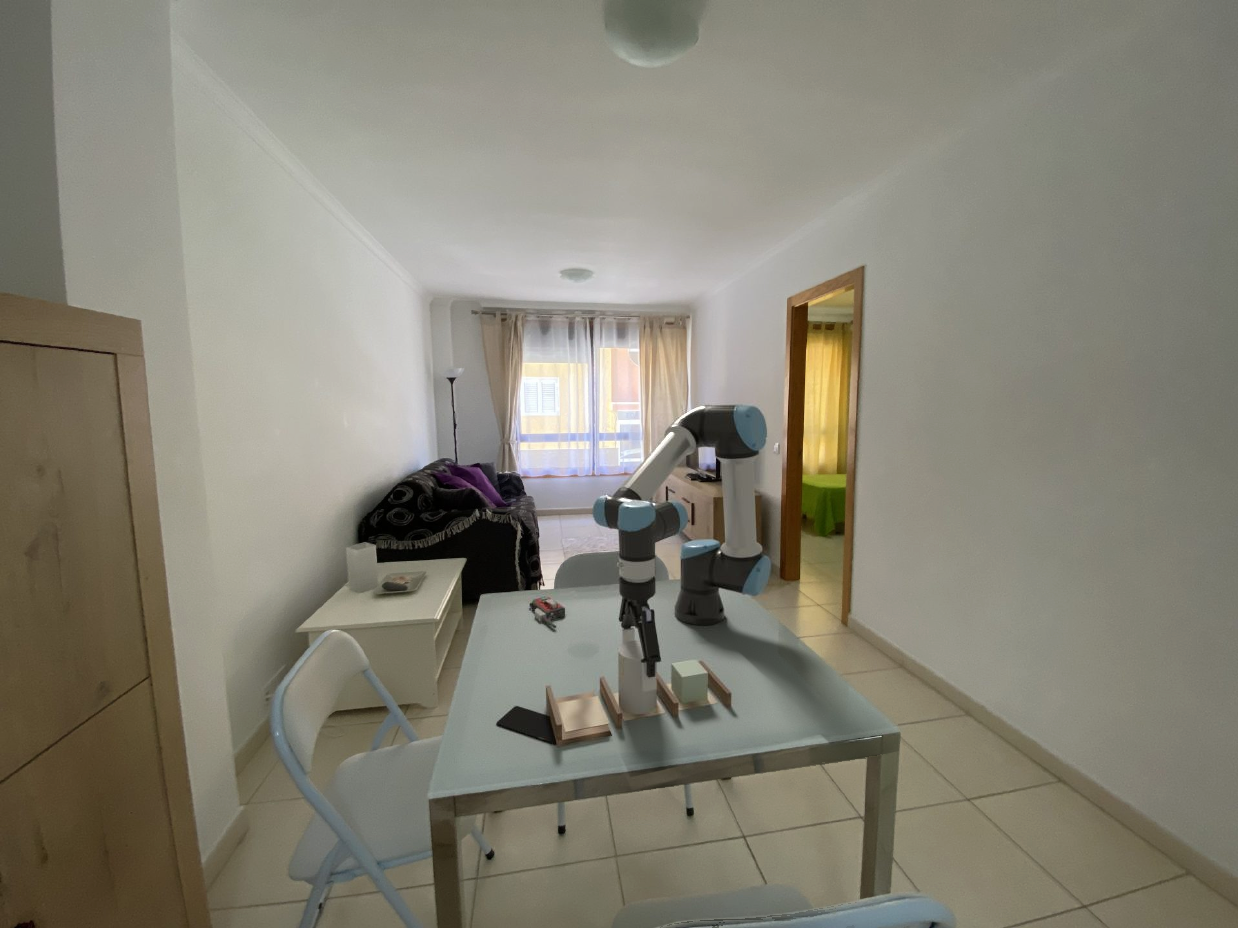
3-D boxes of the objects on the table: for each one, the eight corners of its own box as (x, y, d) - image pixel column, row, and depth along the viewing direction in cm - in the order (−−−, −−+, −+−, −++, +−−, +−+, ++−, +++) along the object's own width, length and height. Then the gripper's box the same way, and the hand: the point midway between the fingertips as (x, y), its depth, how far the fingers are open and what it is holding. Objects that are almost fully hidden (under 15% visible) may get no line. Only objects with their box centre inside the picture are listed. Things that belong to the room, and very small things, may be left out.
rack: (701, 677, 120) (702, 660, 120) (731, 712, 107) (731, 692, 107) (546, 704, 110) (545, 685, 110) (557, 746, 97) (556, 725, 96)
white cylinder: (625, 689, 114) (625, 638, 112) (660, 695, 111) (661, 643, 110) (613, 709, 106) (612, 655, 105) (650, 717, 103) (650, 661, 102)
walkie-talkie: (523, 609, 162) (552, 632, 146) (522, 596, 161) (551, 618, 145) (548, 603, 167) (578, 625, 151) (547, 590, 166) (578, 610, 150)
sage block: (695, 684, 116) (696, 659, 115) (707, 698, 110) (707, 672, 109) (671, 688, 114) (671, 663, 113) (681, 703, 108) (682, 676, 107)
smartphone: (556, 744, 97) (494, 723, 103) (557, 748, 97) (494, 726, 103) (575, 723, 103) (515, 704, 110) (575, 727, 103) (515, 708, 110)
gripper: (604, 559, 116) (606, 647, 119) (639, 601, 92) (640, 709, 95) (635, 556, 118) (636, 642, 121) (677, 596, 94) (677, 702, 97)
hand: (638, 672), depth 108 cm, fingers open, 13 cm apart
